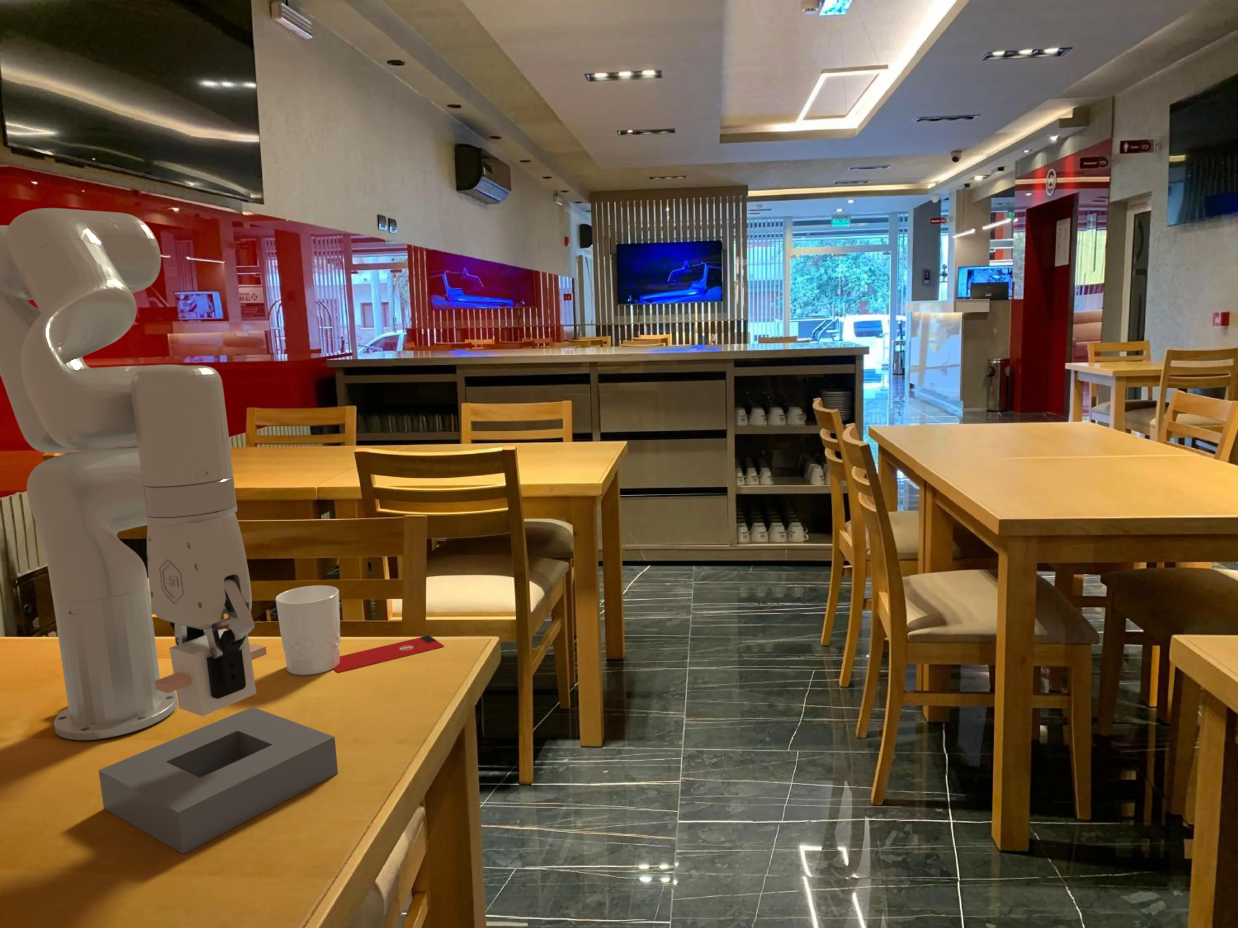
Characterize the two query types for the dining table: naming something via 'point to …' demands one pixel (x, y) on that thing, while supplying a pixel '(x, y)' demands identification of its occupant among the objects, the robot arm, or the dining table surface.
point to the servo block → (204, 676)
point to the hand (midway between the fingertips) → (214, 686)
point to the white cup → (310, 628)
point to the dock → (217, 777)
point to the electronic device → (386, 653)
